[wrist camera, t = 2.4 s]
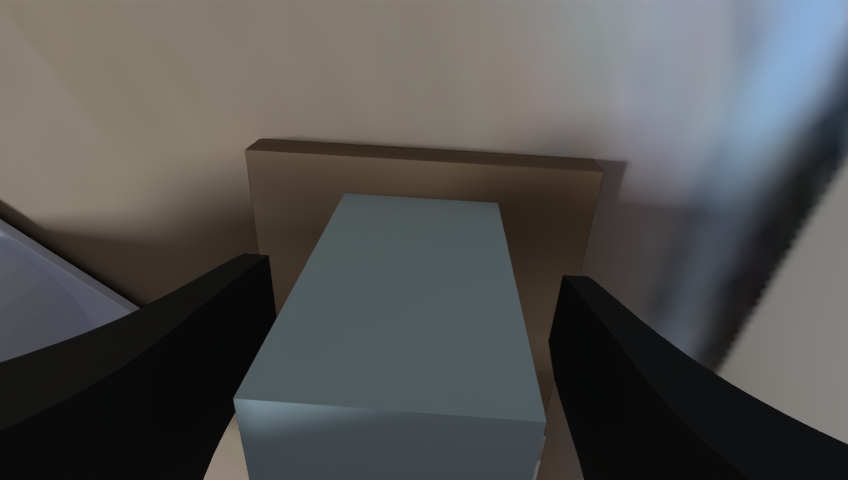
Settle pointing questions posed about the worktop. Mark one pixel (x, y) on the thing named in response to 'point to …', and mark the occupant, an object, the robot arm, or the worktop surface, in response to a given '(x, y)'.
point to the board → (434, 179)
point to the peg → (397, 353)
